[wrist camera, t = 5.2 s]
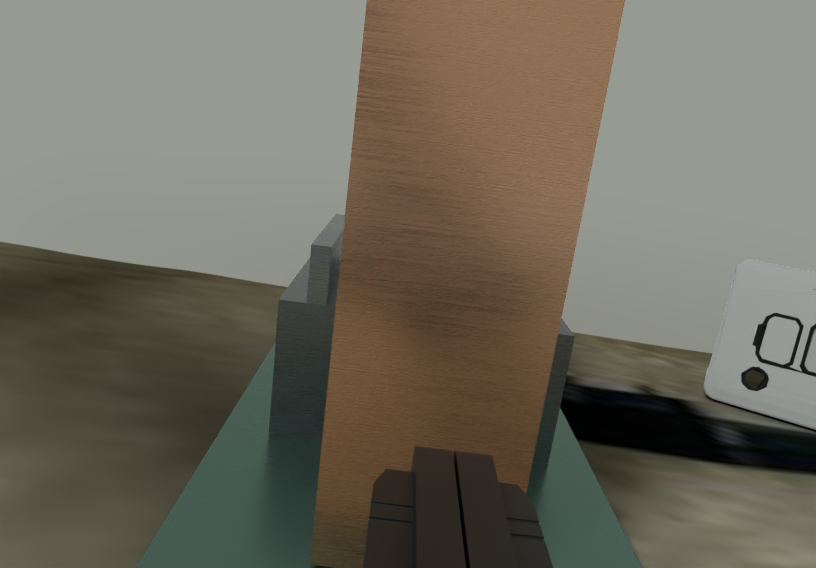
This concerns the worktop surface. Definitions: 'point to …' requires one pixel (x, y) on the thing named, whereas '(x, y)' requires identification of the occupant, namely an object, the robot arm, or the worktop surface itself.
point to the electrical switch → (768, 343)
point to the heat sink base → (301, 449)
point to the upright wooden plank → (456, 238)
